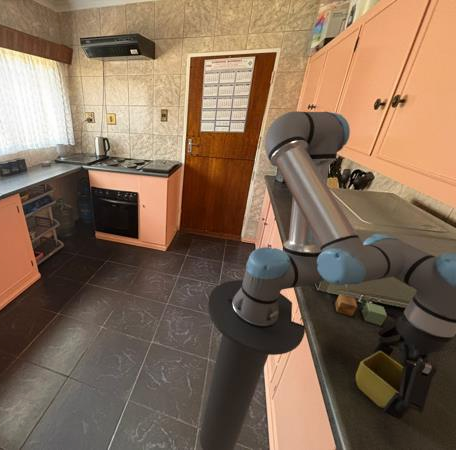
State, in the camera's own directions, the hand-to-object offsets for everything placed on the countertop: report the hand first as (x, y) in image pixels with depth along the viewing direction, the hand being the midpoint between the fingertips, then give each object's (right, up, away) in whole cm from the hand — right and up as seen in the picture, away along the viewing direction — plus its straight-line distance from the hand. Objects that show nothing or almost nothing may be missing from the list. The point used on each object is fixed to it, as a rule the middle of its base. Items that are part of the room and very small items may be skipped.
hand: (382, 386), depth 60 cm
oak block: (+11, +9, +27) cm, 31 cm away
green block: (+18, +8, +24) cm, 31 cm away
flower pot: (0, -3, +2) cm, 4 cm away
